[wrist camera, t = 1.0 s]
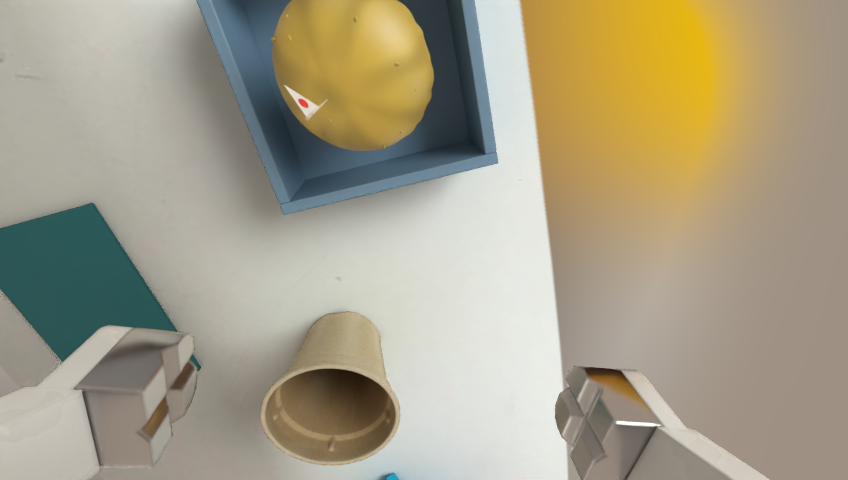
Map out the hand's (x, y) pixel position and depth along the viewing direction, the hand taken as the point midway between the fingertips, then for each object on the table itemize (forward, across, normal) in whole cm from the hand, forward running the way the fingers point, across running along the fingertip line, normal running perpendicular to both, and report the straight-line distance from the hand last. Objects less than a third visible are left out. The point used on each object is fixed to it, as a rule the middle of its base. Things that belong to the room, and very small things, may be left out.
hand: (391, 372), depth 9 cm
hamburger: (+22, +2, -5) cm, 22 cm away
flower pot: (+22, +2, +17) cm, 28 cm away
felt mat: (+22, +22, +16) cm, 35 cm away
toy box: (+22, +2, -5) cm, 23 cm away
